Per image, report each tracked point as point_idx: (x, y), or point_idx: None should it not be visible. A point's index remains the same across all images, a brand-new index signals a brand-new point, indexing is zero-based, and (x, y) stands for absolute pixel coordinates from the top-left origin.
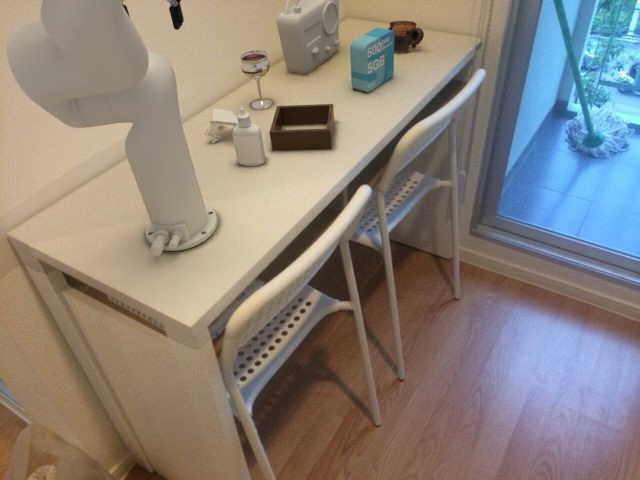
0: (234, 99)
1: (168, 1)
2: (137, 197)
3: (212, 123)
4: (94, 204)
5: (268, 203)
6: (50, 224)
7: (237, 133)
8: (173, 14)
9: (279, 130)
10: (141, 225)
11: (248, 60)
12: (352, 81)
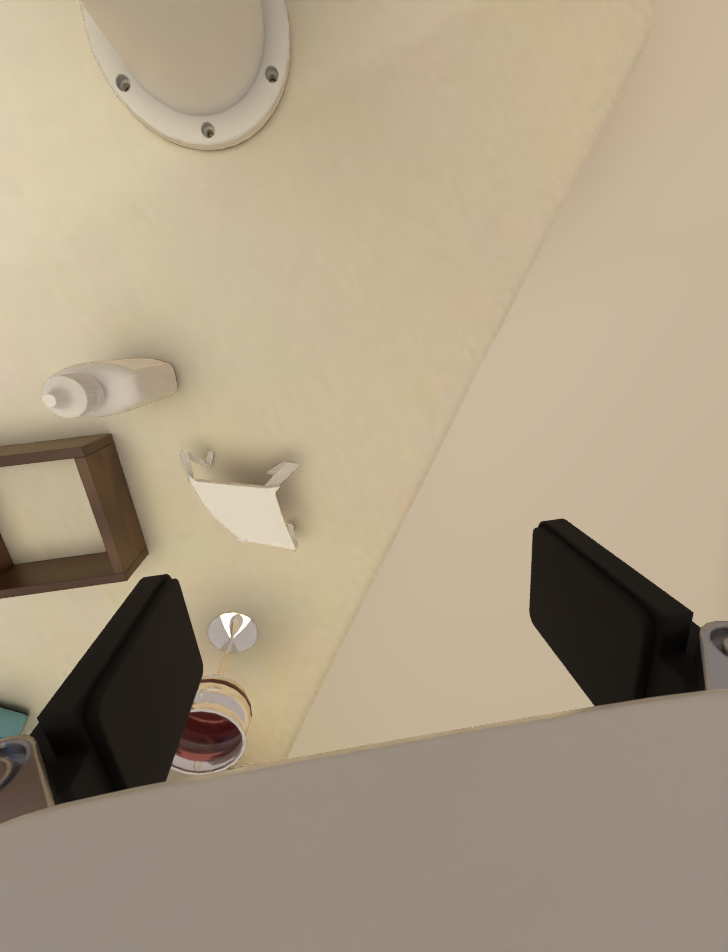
0: (309, 646)
1: (38, 790)
2: (382, 194)
3: (273, 485)
4: (484, 155)
5: (3, 178)
6: (568, 49)
7: (110, 365)
8: (91, 655)
9: (55, 457)
10: (317, 50)
11: (240, 738)
12: (10, 727)
